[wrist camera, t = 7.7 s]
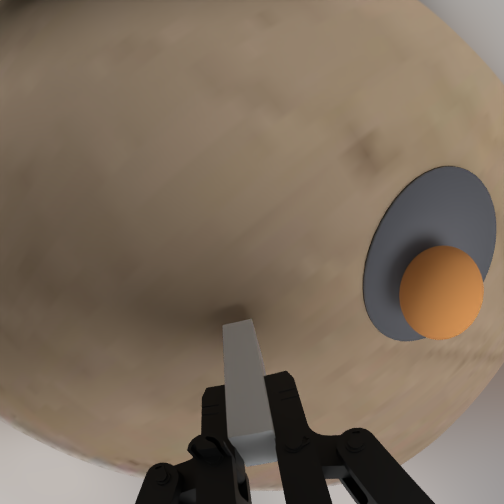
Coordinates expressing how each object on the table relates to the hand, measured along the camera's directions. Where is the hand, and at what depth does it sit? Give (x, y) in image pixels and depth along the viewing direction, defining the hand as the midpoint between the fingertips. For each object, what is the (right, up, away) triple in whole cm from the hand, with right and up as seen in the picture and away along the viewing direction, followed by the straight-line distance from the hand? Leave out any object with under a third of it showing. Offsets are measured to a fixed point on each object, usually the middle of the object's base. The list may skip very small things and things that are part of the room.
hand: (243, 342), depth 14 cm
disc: (+13, +4, +2) cm, 14 cm away
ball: (+11, +2, -1) cm, 12 cm away
